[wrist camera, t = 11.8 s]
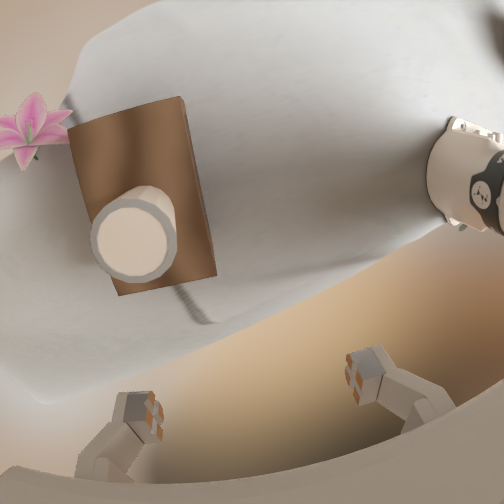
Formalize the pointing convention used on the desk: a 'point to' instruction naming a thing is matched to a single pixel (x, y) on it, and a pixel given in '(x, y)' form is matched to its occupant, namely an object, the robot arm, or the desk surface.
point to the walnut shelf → (147, 179)
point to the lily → (32, 129)
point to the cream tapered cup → (135, 235)
